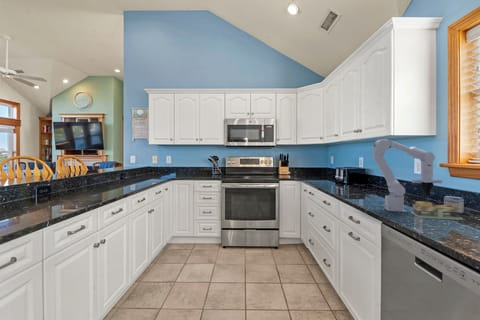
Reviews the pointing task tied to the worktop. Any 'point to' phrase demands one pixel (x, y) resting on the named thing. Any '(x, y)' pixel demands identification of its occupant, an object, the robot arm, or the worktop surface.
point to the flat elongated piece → (438, 208)
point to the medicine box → (454, 202)
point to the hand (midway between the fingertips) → (426, 195)
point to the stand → (437, 215)
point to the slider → (423, 204)
